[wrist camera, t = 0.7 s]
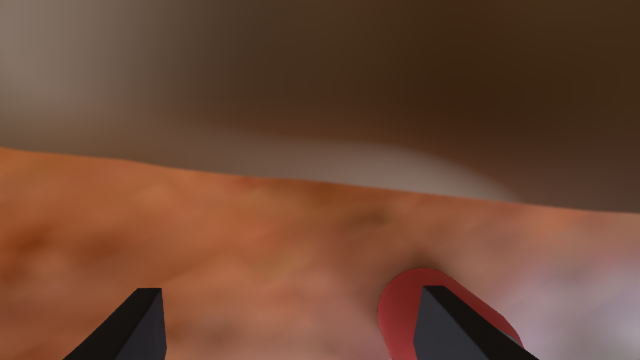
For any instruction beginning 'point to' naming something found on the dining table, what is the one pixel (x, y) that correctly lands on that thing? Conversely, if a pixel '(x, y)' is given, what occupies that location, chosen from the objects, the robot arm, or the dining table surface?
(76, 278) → the dining table surface
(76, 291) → the dining table surface
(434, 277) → the beer can
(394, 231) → the dining table surface
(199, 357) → the dining table surface
